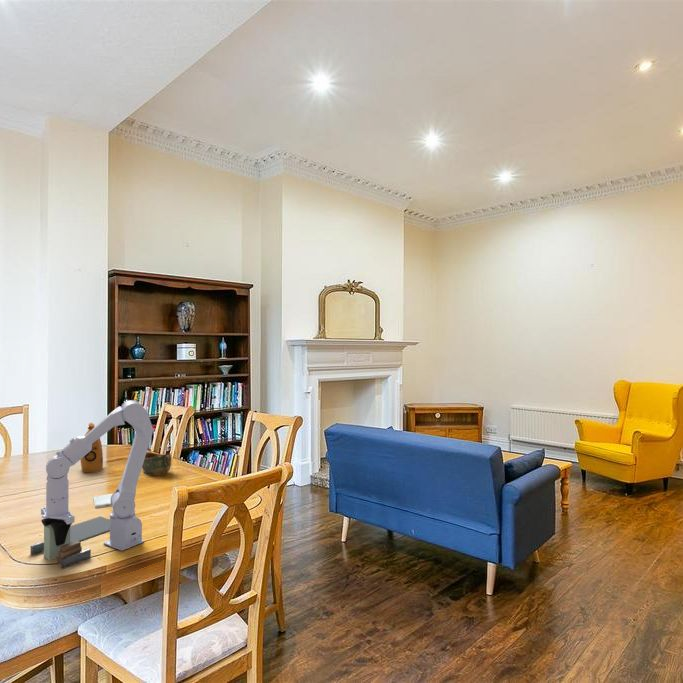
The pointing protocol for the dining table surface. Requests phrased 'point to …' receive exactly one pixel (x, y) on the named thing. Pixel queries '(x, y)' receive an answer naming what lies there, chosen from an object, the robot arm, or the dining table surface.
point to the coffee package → (93, 456)
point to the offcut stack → (69, 550)
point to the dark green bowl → (156, 464)
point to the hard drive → (102, 500)
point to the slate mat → (89, 529)
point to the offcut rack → (67, 560)
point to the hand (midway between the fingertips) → (57, 543)
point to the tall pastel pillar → (52, 543)
